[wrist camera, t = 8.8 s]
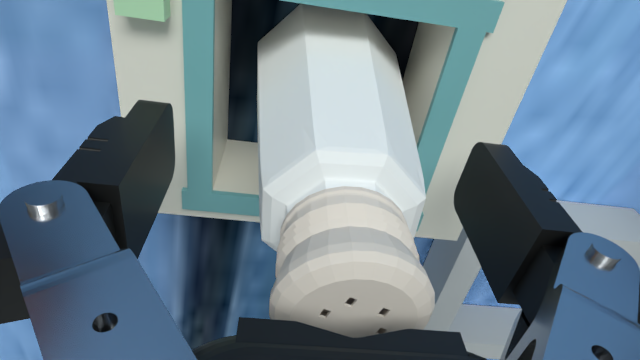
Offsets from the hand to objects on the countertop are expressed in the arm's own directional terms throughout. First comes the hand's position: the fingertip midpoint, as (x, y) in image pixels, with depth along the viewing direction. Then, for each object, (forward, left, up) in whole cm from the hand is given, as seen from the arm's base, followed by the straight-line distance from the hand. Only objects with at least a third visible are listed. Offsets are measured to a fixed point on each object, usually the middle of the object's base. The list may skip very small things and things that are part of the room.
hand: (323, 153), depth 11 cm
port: (0, 0, -6) cm, 6 cm away
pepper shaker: (0, 0, -6) cm, 6 cm away
